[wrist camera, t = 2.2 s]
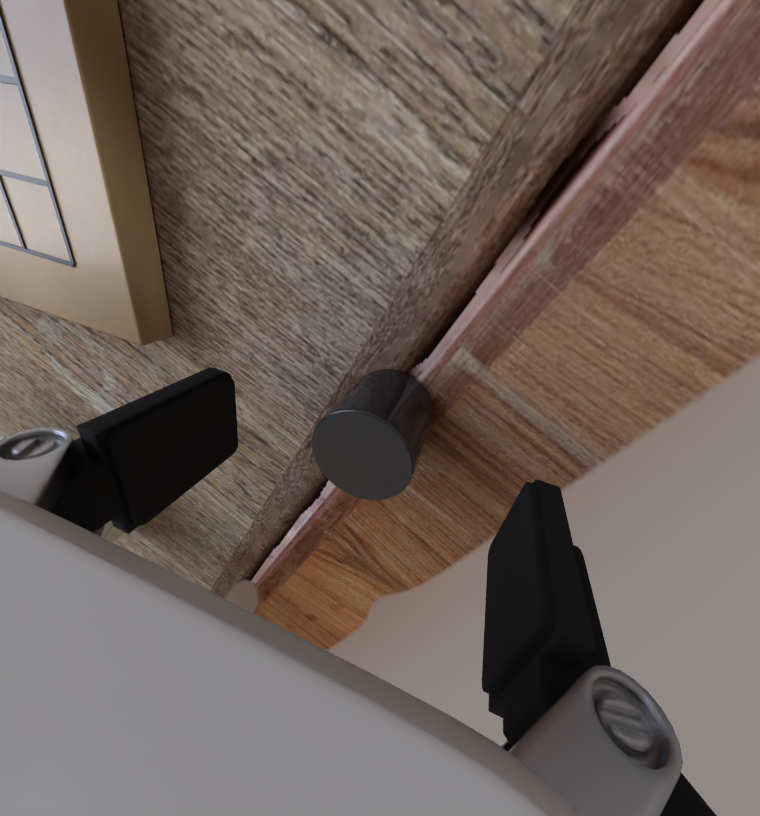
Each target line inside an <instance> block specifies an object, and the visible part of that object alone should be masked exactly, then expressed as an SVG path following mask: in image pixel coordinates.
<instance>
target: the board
mask: <svg viewBox="0 0 760 816" xmlns="http://www.w3.org/2000/svg"><path fill="white" fill-rule="evenodd" d="M0 296H1V297H3V298H6V299H9V300H12V301H15V302H18V303H21V304H24V305H26V306H29V307H32V308H35V309H38V310H41V311H44V312H47V313H49V314H52V315H55V316H58V317H61V318H64V319H67V320H69V321H72V322H75V323H78V324H81V325H84V326H87V327H90V328H92V329H95V330H98V331H101V332H104V333H107V334H110V335H113V336H115V337H118V338H121V339H124V340H127V341H130V342H133V343H135V344H138V345H146V344H149V343H152V342H156V341H159V340H162V339H165V338H168V337H172V336H173V332H172V326H171V320H170V314H169V308H168V302H167V296H166V290H165V284H164V278H163V272H162V266H161V260H160V254H159V248H158V242H157V236H156V230H155V224H154V218H153V212H152V206H151V200H150V194H149V188H148V182H147V176H146V170H145V164H144V158H143V152H142V146H141V140H140V134H139V128H138V122H137V116H136V110H135V104H134V98H133V92H132V86H131V80H130V74H129V68H128V62H127V56H126V50H125V44H124V38H123V32H122V26H121V20H120V14H119V8H118V2H117V0H0Z"/></svg>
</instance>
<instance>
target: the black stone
mask: <svg viewBox="0 0 760 816" xmlns="http://www.w3.org/2000/svg"><path fill="white" fill-rule="evenodd" d="M433 420H434V407H433V403H432V400H431V398H430V396H429V394H428V392H427V391H426V389H425V388H424V387H423V386H422V385H421V383H419V382H418V381H417V380H416V379H414V378H413V377H411V376H410V375H408V374H406V373H403V372H400V371H396V370H378V371H374V372H371V373H369V374H367V375H366V376H364V377H363V378H362V379H361V380H360V381H359V382H358V383H357V384H356V385H355V386H354V387H353V388H352V389H351V390H350V391H349V392H348V393H347V394H346V395H345V396H344V397H343V398H342V399H341V400H340V401H339V402H338V403H337V404H336V405H335V406H334V407H333V408H332V409H331V410H330V411H329V412H328V413H327V414H326V415H325V416H324V417H323V418H322V419H321V421H320V422H319V423H318V424H317V426H316V428H315V430H314V433H313V439H312V448H313V454H314V457H315V460H316V462H317V464H318V466H319V468H320V469H321V471H322V472H323V474H324V475H325V476H326V477H327V478H328V479H329V480H330V481H331V482H332V483H333V484H334V485H335V486H337V487H338V488H340V489H341V490H343V491H344V492H346V493H348V494H350V495H352V496H355V497H358V498H362V499H366V500H385V499H389V498H392V497H394V496H396V495H398V494H400V493H401V492H402V491H403V490H404V489H405V488H406V487H407V486H408V485H409V483H410V481H411V479H412V476H413V474H414V471H415V468H416V466H417V463H418V461H419V458H420V455H421V453H422V450H423V448H424V445H425V442H426V440H427V437H428V435H429V432H430V429H431V427H432V424H433Z"/></svg>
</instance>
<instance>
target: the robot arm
mask: <svg viewBox="0 0 760 816" xmlns="http://www.w3.org/2000/svg"><path fill="white" fill-rule="evenodd" d="M77 429H78V432H79V434H80V438H78V439H76V440H73V437H72V435H71V433H70V432H69V431H67V430H65V429H61V428H56V427H43V428H34V429H29V430H25V431H21V432H18V433H15V434H12V435H9V436H7V437H5V438H3V439H1V440H0V816H716V815H715V814H714V812H713V811H712V810H711V809H710V807H709V806H708V805H707V804H706V802H705V801H704V800H703V799H702V798H701V796H700V795H699V794H698V793H697V791H696V790H695V789H694V788H693V787H692V786H691V784H690V783H689V782H688V781H687V779H686V778H685V777H684V776H683V774H682V773H681V768H682V763H683V761H682V756H681V749H680V744H679V742H678V739H677V737H676V734H675V732H674V729H673V727H672V725H671V723H670V722H669V721H668V718H667V717H666V715H665V714H664V712H663V710H662V709H661V707H660V706H659V705H658V704H657V703H656V701H655V700H654V699H653V698H652V697H651V695H650V694H649V693H648V692H647V691H646V690H645V689H644V688H643V687H642V686H640V685H639V684H638V683H637V682H636V681H635V680H634V679H633V678H631V677H630V676H628V675H626V674H625V673H623V672H622V671H620V670H618V669H615V668H612V667H611V665H610V661H609V657H608V653H607V649H606V645H605V641H604V637H603V633H602V629H601V625H600V621H599V617H598V613H597V609H596V605H595V601H594V597H593V593H592V589H591V585H590V581H589V578H588V573H587V569H586V565H585V561H584V557H583V554H582V552H581V550H580V549H579V548H578V547H577V546H574V545H573V542H572V538H571V533H570V529H569V524H568V520H567V516H566V511H565V507H564V503H563V498H562V494H561V490H560V488H559V487H558V486H555V485H552V484H549V483H546V482H543V481H540V480H535V481H534V482H533V483H530V482H526V483H525V485H524V486H523V488H522V490H521V492H520V493H519V495H518V497H517V499H516V500H515V502H514V504H513V506H512V508H511V509H510V511H509V513H508V515H507V517H506V518H505V520H504V522H503V524H502V526H501V527H500V529H499V531H498V533H497V534H496V536H495V538H494V540H493V542H492V544H491V546H490V549H489V553H488V568H487V569H488V570H487V588H486V589H487V591H486V609H485V610H486V611H485V630H484V631H485V632H484V650H483V671H482V688H483V691H484V692H487V693H489V711H490V712H492V713H494V714H496V715H498V716H500V717H502V718H503V733H504V735H505V737H506V738H507V741H506V742H505V743H504V744H503V745H502V746H499V745H498V744H496V743H495V742H493V741H492V740H490V739H488V738H487V737H485V736H483V735H482V734H480V733H478V732H476V731H475V730H473V729H472V728H470V727H468V726H467V725H465V724H463V723H462V722H460V721H458V720H457V719H455V718H453V717H452V716H450V715H448V714H446V713H444V712H442V711H440V710H439V709H437V708H435V707H433V706H431V705H429V704H427V703H425V702H424V701H422V700H420V699H418V698H416V697H414V696H412V695H410V694H408V693H407V692H405V691H403V690H401V689H399V688H397V687H395V686H394V685H392V684H390V683H388V682H386V681H384V680H382V679H380V678H378V677H377V676H375V675H373V674H371V673H369V672H367V671H365V670H363V669H361V668H359V667H357V666H355V665H354V664H352V663H350V662H348V661H346V660H344V659H342V658H340V657H338V656H336V655H334V654H332V653H330V652H328V651H326V650H324V649H322V648H320V647H318V646H316V645H314V644H312V643H310V642H309V641H307V640H305V639H303V638H301V637H299V636H297V635H295V634H293V633H291V632H289V631H287V630H285V629H283V628H281V627H279V626H277V625H275V624H273V623H271V622H269V621H267V620H265V619H263V618H262V617H260V616H258V615H256V614H254V613H252V612H250V611H248V610H246V609H244V608H242V607H240V606H238V605H236V604H233V603H232V602H230V601H228V600H226V599H224V598H222V597H220V596H218V595H216V594H214V593H212V592H210V591H208V590H206V589H204V588H202V587H200V586H198V585H196V584H194V583H192V582H190V581H188V580H186V579H184V578H182V577H180V576H178V575H176V574H174V573H172V572H170V571H168V570H166V569H164V568H162V567H160V566H158V565H156V564H154V563H152V562H150V561H148V560H146V559H144V558H142V557H140V556H138V555H136V554H134V553H132V552H130V551H128V550H126V549H124V548H122V547H120V546H118V545H116V544H114V543H112V542H110V541H108V540H106V539H104V538H102V537H101V535H102V532H103V529H104V525H105V524H107V523H108V522H109V521H112V524H113V527H115V528H117V529H120V530H122V531H124V532H126V533H128V534H129V533H130V532H132V531H133V530H134V529H135V528H137V527H138V526H139V525H144V524H146V523H148V522H149V521H150V520H152V519H153V518H154V517H155V516H157V515H158V514H159V513H160V512H161V511H163V510H164V509H165V508H166V507H168V506H169V505H170V504H171V503H173V502H174V501H175V500H176V499H178V498H179V497H180V496H181V495H183V494H184V493H185V492H186V491H188V490H189V489H190V488H191V487H193V486H194V485H195V484H196V483H198V482H199V481H200V480H201V479H203V478H204V477H205V476H206V475H208V474H209V473H210V472H211V471H213V470H214V469H215V468H216V467H218V466H219V465H220V464H221V463H223V462H224V461H225V460H226V459H228V458H229V457H230V456H231V455H233V454H234V453H235V451H236V449H237V447H238V435H237V418H236V401H235V384H234V381H233V379H232V378H231V375H230V374H229V373H227V372H224V371H221V370H219V369H216V368H207V369H205V370H203V371H201V372H198V373H196V374H194V375H192V376H189V377H187V378H185V379H182V380H180V381H178V382H176V383H173V384H171V385H169V386H167V387H164V388H162V389H160V390H158V391H155V392H153V393H151V394H149V395H146V396H144V397H142V398H139V399H137V400H135V401H133V402H130V403H128V404H126V405H124V406H121V407H119V408H117V409H115V410H112V411H110V412H108V413H106V414H103V415H101V416H99V417H96V418H94V419H92V420H90V421H87V422H85V423H83V424H81V425H78V426H77Z"/></svg>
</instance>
